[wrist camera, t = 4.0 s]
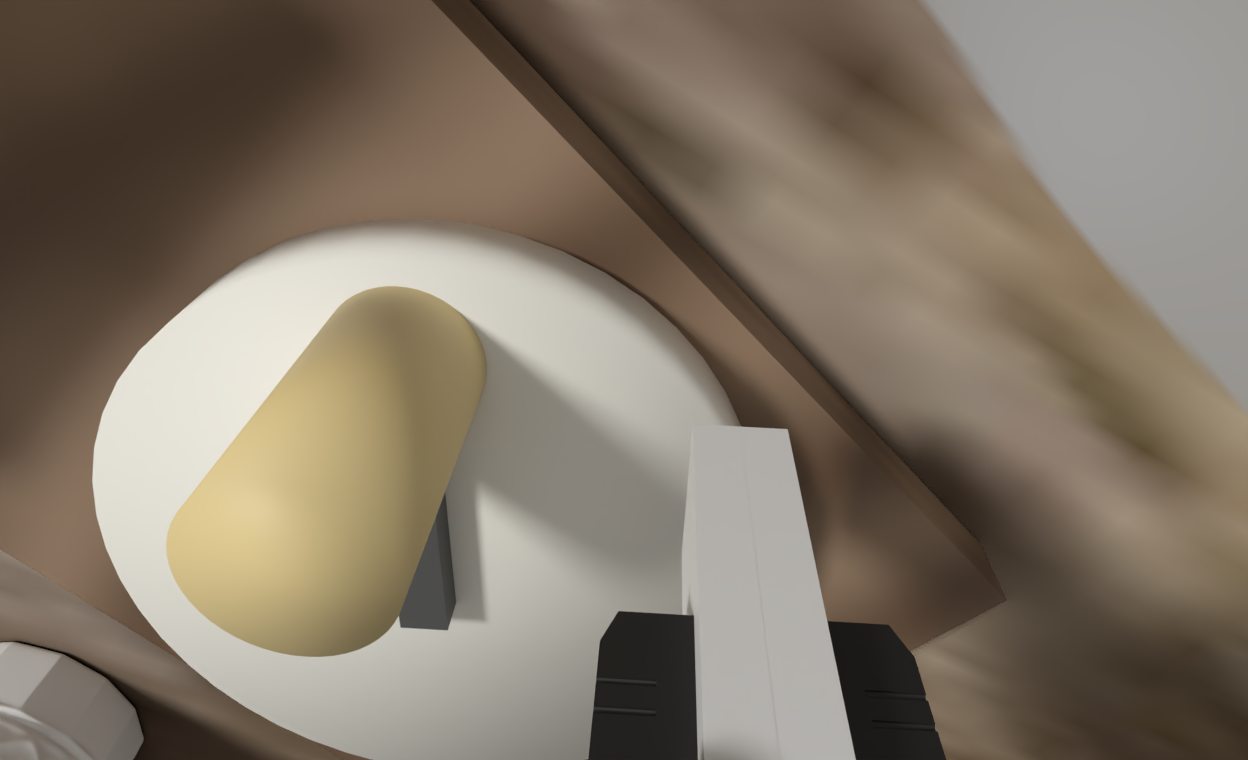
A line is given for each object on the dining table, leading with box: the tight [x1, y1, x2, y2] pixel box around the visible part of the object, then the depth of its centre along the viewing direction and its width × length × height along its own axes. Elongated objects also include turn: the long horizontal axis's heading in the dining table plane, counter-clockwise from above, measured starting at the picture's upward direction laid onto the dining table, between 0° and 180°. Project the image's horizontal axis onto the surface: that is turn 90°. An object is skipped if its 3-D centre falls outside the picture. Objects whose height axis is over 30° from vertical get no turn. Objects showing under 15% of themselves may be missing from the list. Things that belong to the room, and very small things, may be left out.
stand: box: [0, 0, 1006, 760], centre depth 17 cm, size 27×18×9 cm, turn 43°
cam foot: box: [92, 219, 741, 760], centre depth 16 cm, size 14×14×8 cm
